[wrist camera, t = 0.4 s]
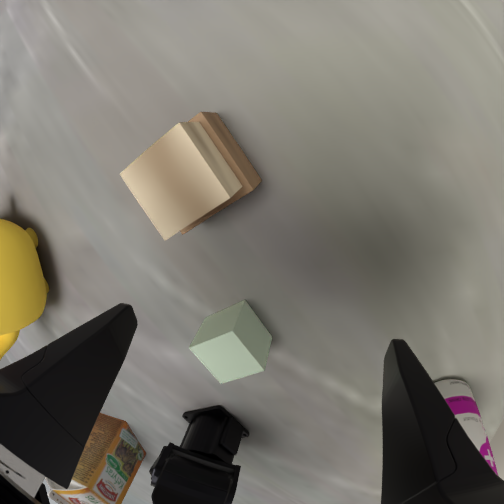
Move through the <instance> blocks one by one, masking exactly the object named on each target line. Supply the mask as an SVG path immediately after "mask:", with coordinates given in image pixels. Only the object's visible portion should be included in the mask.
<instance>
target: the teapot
mask: <svg viewBox="0 0 504 504" xmlns="http://www.w3.org/2000/svg"><path fill="white" fill-rule="evenodd" d="M37 246H38V238H37V235H36V233H35V231H34V230H33V229H32V228H27V229H26V230H24V229H22V228H21V227H20V226H18V225H16V224H14V223H12V222H10V221H7V220H4V219H0V359H1V358H2V357H3V355H4V354H5V353H6V352H7V351H8V350H9V349H10V348H11V347H12V345H13V344H14V343H15V341H16V340H17V338H18V335H19V331H20V329H22V328H24V327H26V326H28V325H29V324H31V323H33V322H34V321H36V320H37V319H38V318H39V317H40V316H41V314H42V313H43V310H44V307H45V304H46V299H47V293H48V292H49V285H48V283H47V281H46V280H45V279H44V277H43V273H42V269H41V265H40V261H39V258H38V254H37V251H36V247H37Z"/></svg>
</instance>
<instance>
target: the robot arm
mask: <svg viewBox="0 0 504 504" xmlns="http://www.w3.org/2000/svg"><path fill="white" fill-rule="evenodd" d="M136 328H137V319H136V316H135V313H134V311H133V308H132V306H131V305H129V304H124V303H120V304H118V305H116V306H115V307H113V308H111V309H109V310H108V311H106V312H104V313H102V314H101V315H99V316H97V317H95V318H93V319H92V320H90V321H88V322H86V323H85V324H83V325H81V326H79V327H78V328H76V329H74V330H72V331H71V332H69V333H67V334H65V335H64V336H62V337H60V338H59V339H57V340H55V341H53V342H52V343H50V344H48V346H45V347H43V348H41V349H40V350H38V351H36V352H34V353H32V354H31V355H29V356H27V357H25V358H23V359H21V360H19V361H17V362H15V363H12V364H10V365H8V366H6V367H4V368H2V369H0V504H50V503H49V499H48V495H47V492H46V488H45V485H44V484H43V483H42V482H43V480H44V479H45V477H47V478H48V479H50V480H52V481H53V482H55V483H56V484H58V485H60V486H61V487H63V488H65V489H68V487H69V485H70V483H71V480H72V477H73V475H74V472H75V470H76V467H77V465H78V462H79V460H80V457H81V455H82V453H83V450H84V447H85V445H86V443H87V440H88V438H89V436H90V434H91V431H92V429H93V427H94V424H95V422H96V420H97V418H98V415H99V413H100V411H101V409H102V407H103V404H104V402H105V400H106V398H107V396H108V393H109V391H110V389H111V387H112V385H113V383H114V381H115V379H116V377H117V375H118V372H119V370H120V368H121V366H122V364H123V362H124V360H125V357H126V355H127V352H128V349H129V347H130V344H131V341H132V338H133V336H134V333H135V331H136ZM183 418H184V419H185V420H186V421H188V422H189V423H190V424H189V426H188V429H187V431H186V433H185V436H184V438H183V440H182V443H181V445H180V447H179V446H176V445H174V444H173V443H169V445H168V446H164V447H163V449H162V451H161V453H160V455H159V457H158V458H157V460H156V461H155V463H154V464H153V466H152V467H151V469H150V471H149V472H150V474H151V476H152V477H151V480H152V481H151V486H154V487H155V488H154V490H153V493H152V501H153V504H232V501H233V498H234V495H235V492H236V487H237V482H238V477H239V472H240V467H241V466H239V465H233V464H232V461H233V458H234V455H236V454H237V451H238V448H239V444H240V441H241V438H244V437H248V436H249V432H248V431H247V430H246V429H245V428H243V427H242V426H241V425H240V424H239V423H238V422H237V421H236V420H235V419H234V418H233V417H232V416H231V415H230V414H229V413H228V412H226V411H225V410H224V409H223V408H222V407H220V406H216V407H211V408H206V409H202V410H197V411H191V412H186V413H184V414H183ZM382 426H383V471H382V496H381V504H504V481H503V480H502V479H501V478H500V477H499V476H498V475H497V474H496V473H495V472H494V471H493V469H492V468H491V466H490V465H489V464H488V462H487V461H486V460H485V458H484V457H483V456H482V454H481V453H480V452H479V450H478V449H477V448H476V446H475V445H474V444H473V442H472V441H471V439H470V438H469V437H468V435H467V434H466V432H465V430H464V429H463V427H462V426H461V424H460V423H459V421H458V419H457V418H455V415H454V413H453V412H452V410H451V408H450V407H449V405H448V404H447V402H446V401H445V399H444V397H443V396H442V394H441V393H440V391H439V390H438V388H437V387H436V385H435V384H434V382H433V381H432V379H431V378H430V376H429V375H428V373H427V372H426V370H425V369H424V367H423V366H422V364H421V363H420V362H419V360H418V359H417V357H416V356H415V354H414V353H413V352H412V350H411V349H410V347H409V346H408V344H407V343H406V342H405V341H404V340H402V339H393V340H391V342H390V345H389V347H388V350H387V352H386V355H385V358H384V374H383V392H382Z"/></svg>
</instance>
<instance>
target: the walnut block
mask: <svg viewBox="0 0 504 504" xmlns="http://www.w3.org/2000/svg"><path fill="white" fill-rule="evenodd" d="M188 122H200V124H201V125H202V127H203V128H204V130H205V131H206V133H207V134H208V136H209V137H210V138H211V140H212V141H213V143H214V144H215V146H216V147H217V149H218V150H219V152H220V153H221V155H222V156H223V158H224V159H225V161H226V162H227V164H228V165H229V167H230V168H231V170H232V171H233V173H234V174H235V176H236V177H237V179H238V180H239V182H240V183H241V185H242V186H243V187H242V188H240V189H239V190H238V191H237V192H236V193H235V194H234V195H233V196H232V197H231V198H230V199H228V200H226V201H225V202H223V203H222V204H220V205H219V206H217V207H215V208H214V209H212V210H211V211H209V212H208V213H206V214H205V215H203V216H202V217H200V218H198V219H197V220H195V221H194V222H192V223H191V224H189V225H188V226H186V227H185V228H183V229H182V230H180V232H181V233H182V234H185V233H186V232H188V231H189V230H191V229H192V228H194V227H195V226H197V225H199V224H200V223H202V222H203V221H205V220H206V219H208V218H209V217H211V216H213V215H214V214H216V213H217V212H219V211H220V210H222V209H224V208H225V207H227V206H228V205H230V204H232V203H233V202H235V201H236V200H238V199H240V198H241V197H243V196H245V195H246V194H248V193H249V192H251V191H253V190H254V189H255V188H256V187H257V186H258V184H259V183H260V182H261V181H262V180H261V178H260V177H259V175H258V174H257V172H256V171H255V169H254V168H253V166H252V165H251V163H250V162H249V160H248V159H247V157H246V156H245V154H244V153H243V151H242V150H241V148H240V147H239V145H238V144H237V142H236V141H235V139H234V138H233V136H232V135H231V133H230V132H229V130H228V129H227V127H226V126H225V124H224V123H223V122H222V120H221V119H220V117H219V116H218V114H217V113H211V112H200V113H199V114H197V115H196V116H195V117H193V118H192V119H191V120H189V121H188Z"/></svg>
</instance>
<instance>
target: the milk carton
mask: <svg viewBox="0 0 504 504" xmlns="http://www.w3.org/2000/svg"><path fill="white" fill-rule="evenodd" d="M145 455H146V452H145V451H144V449H143V448H142V446H141V445H140V443H139V442H138V440H137V438H136V437H135V435H134V434H133V432H132V431H131V429H130V427H129V426H128V424H127V422H126V421H123V420H120V419H117V418H114V417H111V416H108V415H105V414H102V413H99V415H98V418H97V420H96V422H95V424H94V427H93V429H92V431H91V434H90V436H89V438H88V440H87V443H86V445H85V447H84V450H83V453H82V455H81V457H80V460H79V462H78V465H77V467H76V470H75V472H74V475H73V477H72V480H71V483H70V485H69V487H68V489H65V488H63V487H61V486H60V485H58V484H56V483H55V482H53V481H52V480H50V479H48V478H47V477H45V479H46V481H47V483H48V485H49V486H50V488H51V489H50V491H49V493H48V496H49V497H50V498H51V499H52V500H54V501H55V502H56V503H58V504H121V503H122V501H123V499H124V497H125V495H126V493H127V491H128V489H129V487H130V485H131V483H132V481H133V479H134V477H135V475H136V473H137V471H138V469H139V467H140V465H141V463H142V461H143V459H144V457H145Z"/></svg>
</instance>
